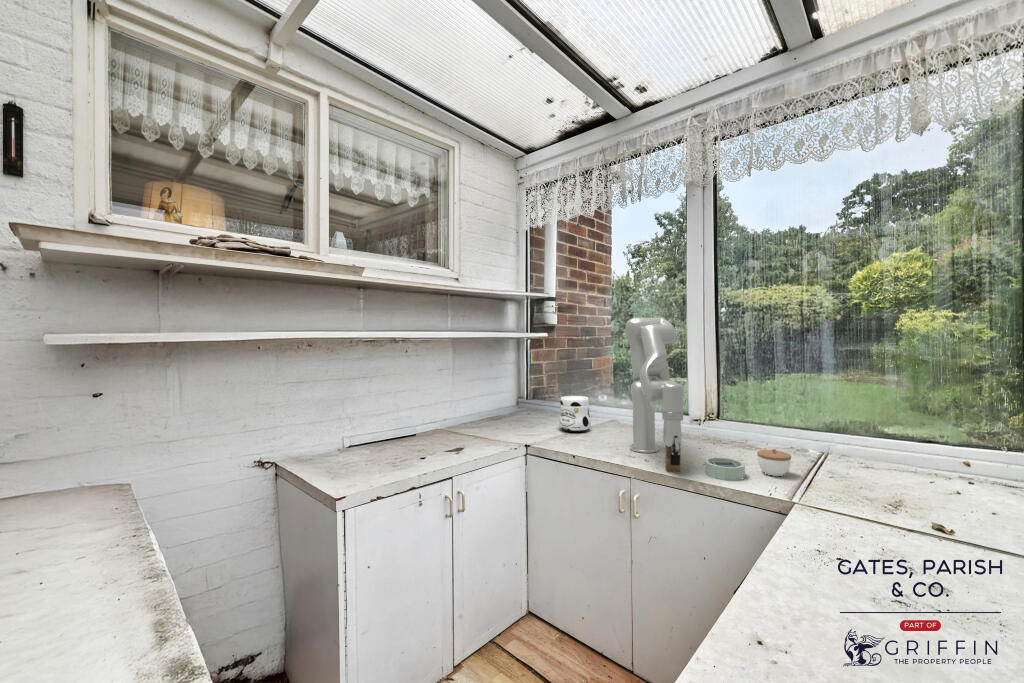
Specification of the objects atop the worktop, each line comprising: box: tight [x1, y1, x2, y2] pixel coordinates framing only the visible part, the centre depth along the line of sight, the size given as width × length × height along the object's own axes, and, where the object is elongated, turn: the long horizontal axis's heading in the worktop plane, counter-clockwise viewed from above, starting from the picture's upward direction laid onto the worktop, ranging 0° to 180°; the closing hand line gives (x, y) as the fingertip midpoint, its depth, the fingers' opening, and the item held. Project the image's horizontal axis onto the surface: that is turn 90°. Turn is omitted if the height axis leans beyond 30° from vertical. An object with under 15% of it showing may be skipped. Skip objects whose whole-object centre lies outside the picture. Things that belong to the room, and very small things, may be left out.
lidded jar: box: [756, 448, 792, 477], centre depth 159 cm, size 11×11×9 cm
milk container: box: [558, 395, 592, 433], centre depth 234 cm, size 17×17×18 cm
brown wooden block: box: [664, 443, 682, 473], centre depth 164 cm, size 2×5×10 cm, turn 82°
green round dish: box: [704, 456, 746, 481], centre depth 159 cm, size 13×13×4 cm
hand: (673, 461), depth 164 cm, fingers open, 6 cm apart
